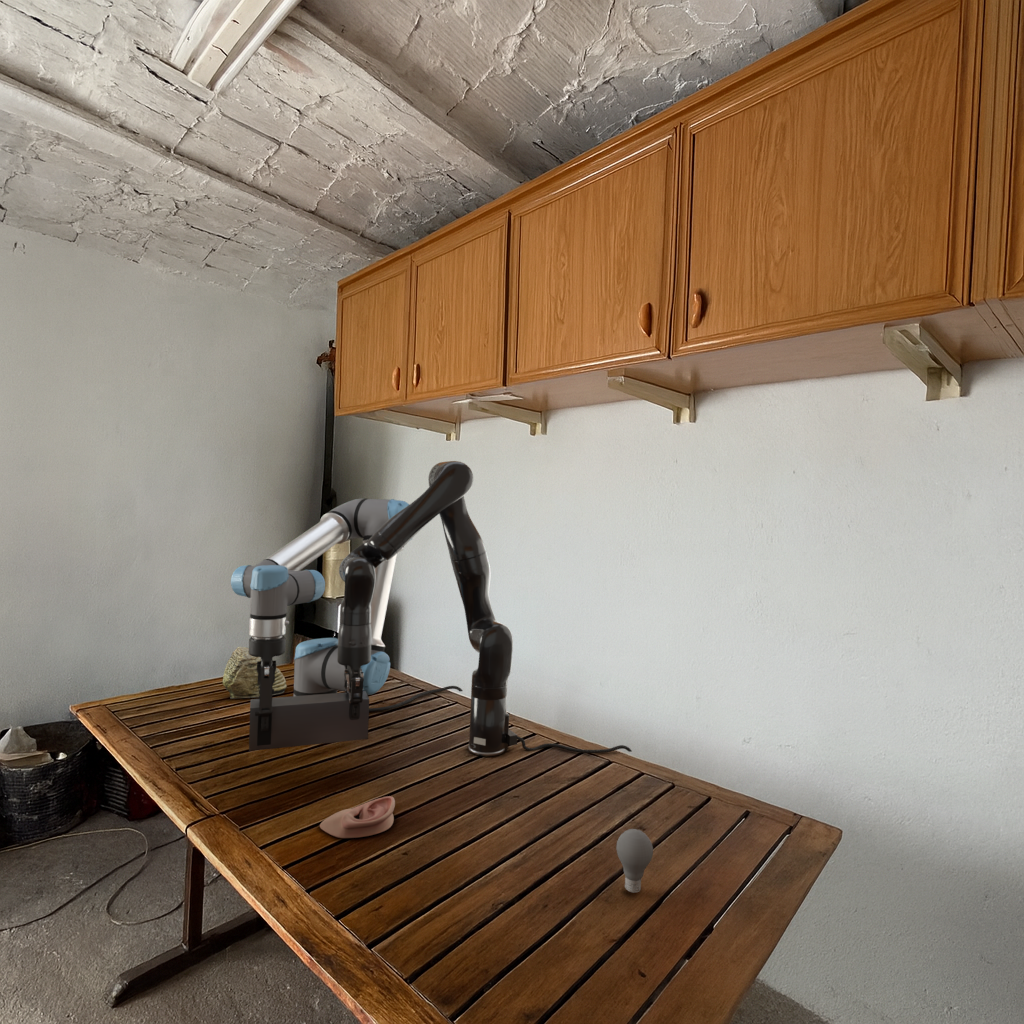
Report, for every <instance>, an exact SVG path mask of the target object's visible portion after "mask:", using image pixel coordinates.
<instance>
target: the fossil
mask: <svg viewBox="0 0 1024 1024" xmlns="http://www.w3.org/2000/svg"><path fill="white" fill-rule="evenodd" d="M257 661H261V657H254V656H251V655H250V654H249V647H247V646H246V647H245V646H238V647H237V648H236V649H235V650H233V651H232V653H231V656H230V657H229V659H228V660H227V663H226V666H225V668H224V671H223V675H222V676H223V677H222V685H223V687H224V688H225V690H226V691H228V693H229V698H230V699H250V698H252V699H253V698H259V696H260V694H259V690H260V688H259V686H260V685H259V684H258V673H257ZM272 661H274V660H273V659H272ZM287 687H288V686H287V680H286V678H285V676H284V674H283V673H282V672H281V669H279V668H278V667H276V672H275V682H274V683H273V685H272V689H274V694H272V696H275V695H281V694H284V693H285V691H286V689H287Z"/></svg>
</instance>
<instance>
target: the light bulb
mask: <svg viewBox="0 0 1024 1024" xmlns="http://www.w3.org/2000/svg"><path fill="white" fill-rule="evenodd" d="M615 849H616V854H617V857H618V859H619V861H620V863H621V865H622V867H623V873H624V874H623V875H624V876H625V878H624V888H625V890H627V891H628V892H630V893H634V894H635V893H639V892H640V891H641V889H642V887H641V886H642V879H643V877H644V875H645V871H646V868H647V867H648V866H649V864H650V863H651V861H652V859H653V855H654V847H653V843H652V841H651V838H649V836H648V835H647V834H646V833H645V832H643V831H642V830H641V829H636V828H629V829H627V830H625V831H623V832H622V833H621V834H620V835H619V837H618V839H617V841H616V847H615Z"/></svg>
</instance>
